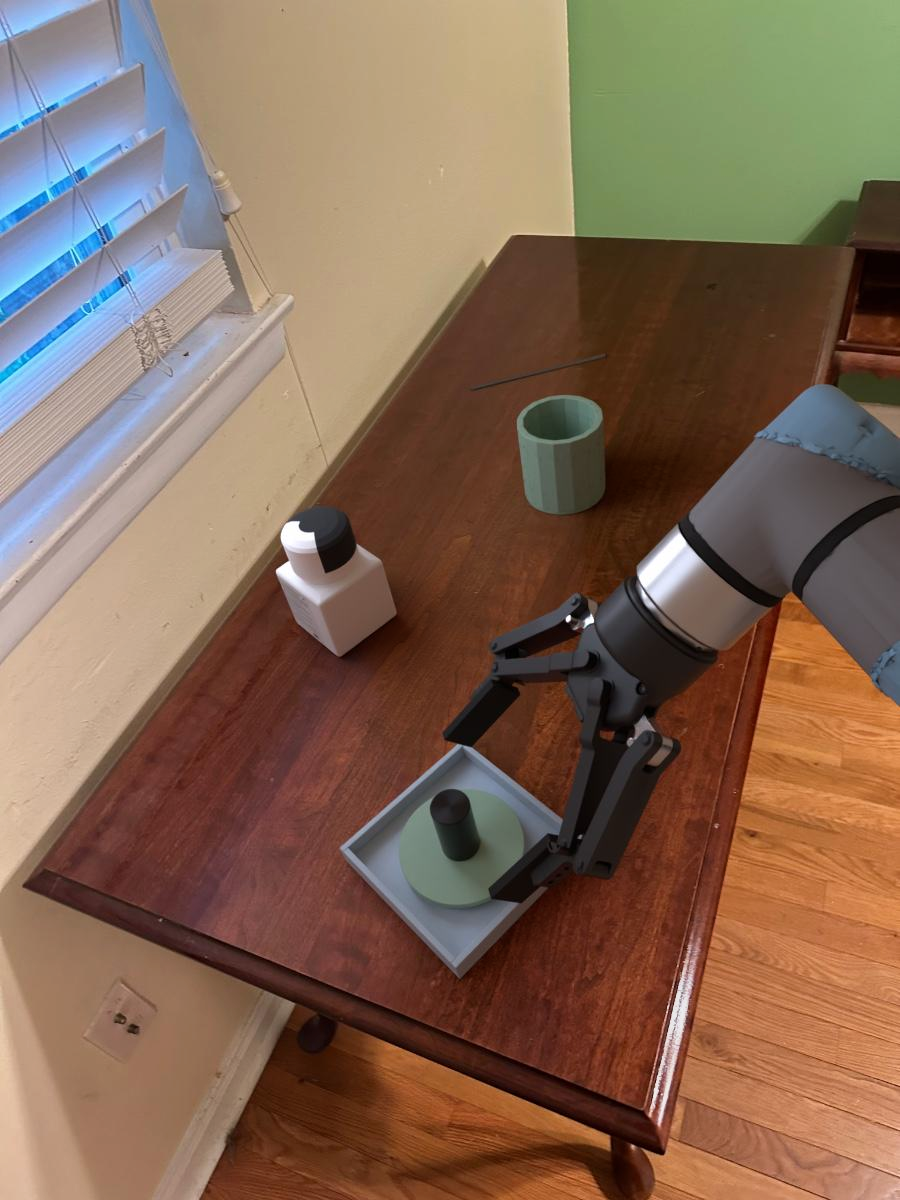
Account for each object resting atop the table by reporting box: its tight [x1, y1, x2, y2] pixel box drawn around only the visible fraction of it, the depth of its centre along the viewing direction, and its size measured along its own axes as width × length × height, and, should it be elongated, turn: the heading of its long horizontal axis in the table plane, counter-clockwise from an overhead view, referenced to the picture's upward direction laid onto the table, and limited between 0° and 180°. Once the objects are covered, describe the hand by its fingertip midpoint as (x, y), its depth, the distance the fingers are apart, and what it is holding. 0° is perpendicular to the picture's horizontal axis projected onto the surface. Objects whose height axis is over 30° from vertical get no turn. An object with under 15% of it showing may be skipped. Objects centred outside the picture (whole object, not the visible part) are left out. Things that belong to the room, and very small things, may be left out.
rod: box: [469, 353, 607, 392], centre depth 115 cm, size 1×19×1 cm, turn 101°
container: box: [275, 505, 397, 658], centre depth 83 cm, size 8×8×13 cm
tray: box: [339, 744, 582, 979], centre depth 66 cm, size 14×14×2 cm
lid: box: [399, 789, 525, 908], centre depth 64 cm, size 10×10×7 cm
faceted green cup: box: [516, 394, 606, 516], centre depth 93 cm, size 9×9×10 cm
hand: (478, 812), depth 62 cm, fingers open, 13 cm apart
